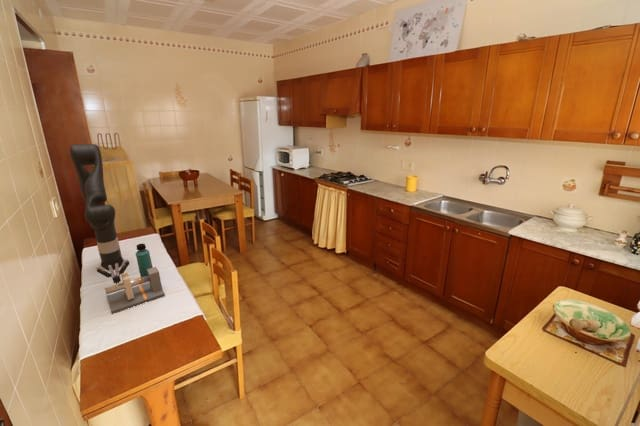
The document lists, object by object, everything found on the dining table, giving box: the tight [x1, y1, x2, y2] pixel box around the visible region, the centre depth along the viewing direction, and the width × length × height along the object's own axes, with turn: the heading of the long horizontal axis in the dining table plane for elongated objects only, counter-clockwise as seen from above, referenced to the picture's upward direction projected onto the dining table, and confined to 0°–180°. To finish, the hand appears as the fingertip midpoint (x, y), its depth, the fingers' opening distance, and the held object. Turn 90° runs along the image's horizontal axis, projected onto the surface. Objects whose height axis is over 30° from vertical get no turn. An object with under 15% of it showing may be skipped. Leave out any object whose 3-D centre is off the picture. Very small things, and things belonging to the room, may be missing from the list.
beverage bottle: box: [135, 243, 154, 277], centre depth 159 cm, size 6×7×20 cm
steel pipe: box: [104, 275, 150, 296], centre depth 143 cm, size 3×19×3 cm, turn 130°
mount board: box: [106, 266, 166, 315], centre depth 145 cm, size 15×22×12 cm
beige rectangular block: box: [120, 270, 134, 300], centre depth 143 cm, size 9×2×11 cm, turn 39°
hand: (117, 282), depth 140 cm, fingers closed
